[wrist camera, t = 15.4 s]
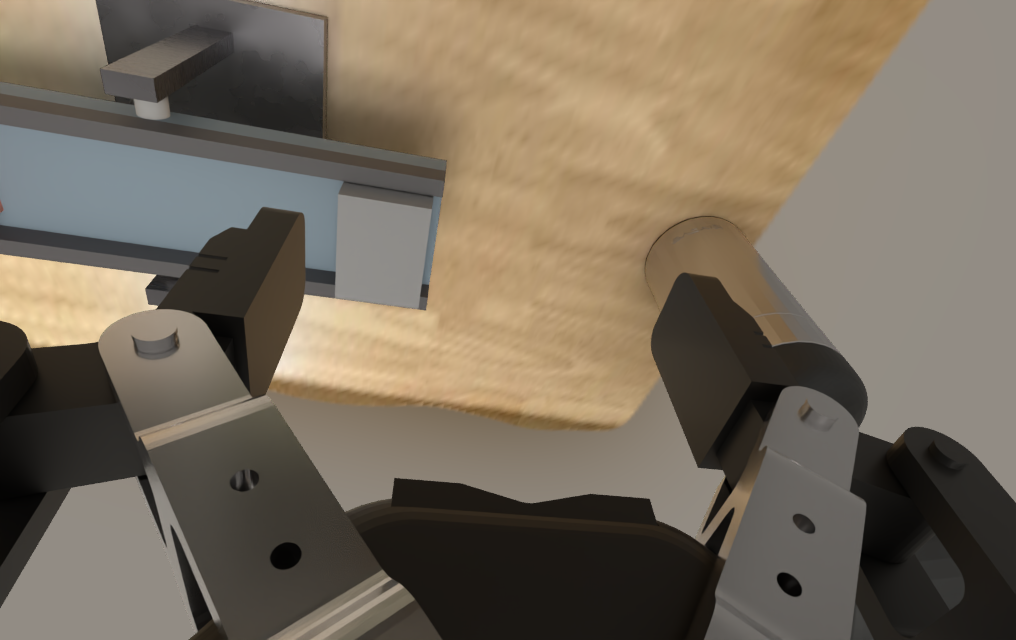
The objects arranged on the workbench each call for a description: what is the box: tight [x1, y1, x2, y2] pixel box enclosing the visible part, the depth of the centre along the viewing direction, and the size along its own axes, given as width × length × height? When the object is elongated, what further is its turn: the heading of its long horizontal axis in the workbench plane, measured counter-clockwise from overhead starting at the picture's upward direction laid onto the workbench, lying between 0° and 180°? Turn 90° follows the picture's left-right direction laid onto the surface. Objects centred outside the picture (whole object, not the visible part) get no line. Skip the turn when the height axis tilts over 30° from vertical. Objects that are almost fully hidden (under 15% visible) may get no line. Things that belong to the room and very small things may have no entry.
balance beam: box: [0, 82, 447, 310], centre depth 32 cm, size 32×11×5 cm, turn 78°
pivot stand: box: [96, 0, 328, 306], centre depth 37 cm, size 14×18×13 cm
